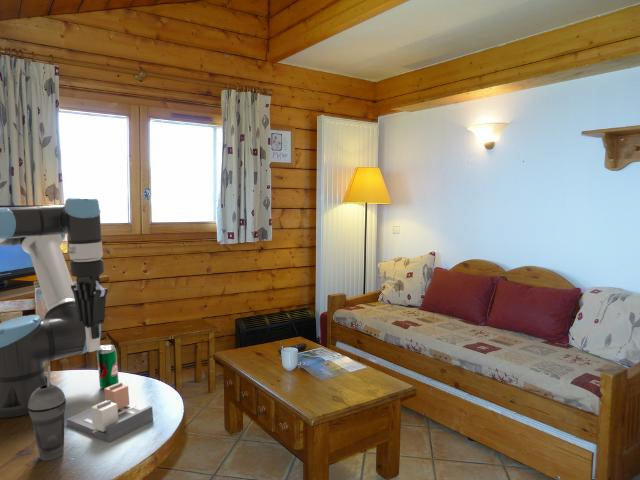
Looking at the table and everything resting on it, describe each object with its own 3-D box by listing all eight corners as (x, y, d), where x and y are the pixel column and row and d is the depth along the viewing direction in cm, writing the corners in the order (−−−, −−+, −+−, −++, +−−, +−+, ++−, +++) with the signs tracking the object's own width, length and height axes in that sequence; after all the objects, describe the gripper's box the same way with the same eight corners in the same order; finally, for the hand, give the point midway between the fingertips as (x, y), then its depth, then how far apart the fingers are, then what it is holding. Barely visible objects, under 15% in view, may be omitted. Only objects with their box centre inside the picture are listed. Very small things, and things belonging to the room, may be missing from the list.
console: (63, 426, 118) (62, 412, 118) (113, 404, 130) (112, 391, 129) (106, 444, 109) (105, 429, 109) (155, 418, 121) (154, 405, 120)
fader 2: (92, 427, 113) (90, 404, 112) (108, 420, 116) (106, 397, 116) (103, 431, 111) (101, 408, 110) (118, 424, 114) (116, 401, 113)
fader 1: (105, 407, 123) (104, 386, 123) (119, 401, 127) (118, 380, 126) (115, 410, 121) (113, 389, 121) (129, 404, 124) (127, 383, 124)
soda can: (116, 389, 139) (113, 349, 137) (98, 391, 138) (94, 351, 137) (120, 381, 144) (117, 343, 142) (102, 383, 143) (99, 344, 141)
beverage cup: (45, 446, 109) (37, 360, 107) (77, 445, 109) (69, 359, 107) (24, 464, 102) (15, 372, 100) (58, 464, 102) (50, 372, 99)
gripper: (58, 259, 122) (65, 349, 125) (86, 263, 115) (94, 359, 118) (86, 255, 128) (93, 341, 131) (115, 259, 121) (121, 350, 124)
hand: (93, 350), depth 125 cm, fingers closed
